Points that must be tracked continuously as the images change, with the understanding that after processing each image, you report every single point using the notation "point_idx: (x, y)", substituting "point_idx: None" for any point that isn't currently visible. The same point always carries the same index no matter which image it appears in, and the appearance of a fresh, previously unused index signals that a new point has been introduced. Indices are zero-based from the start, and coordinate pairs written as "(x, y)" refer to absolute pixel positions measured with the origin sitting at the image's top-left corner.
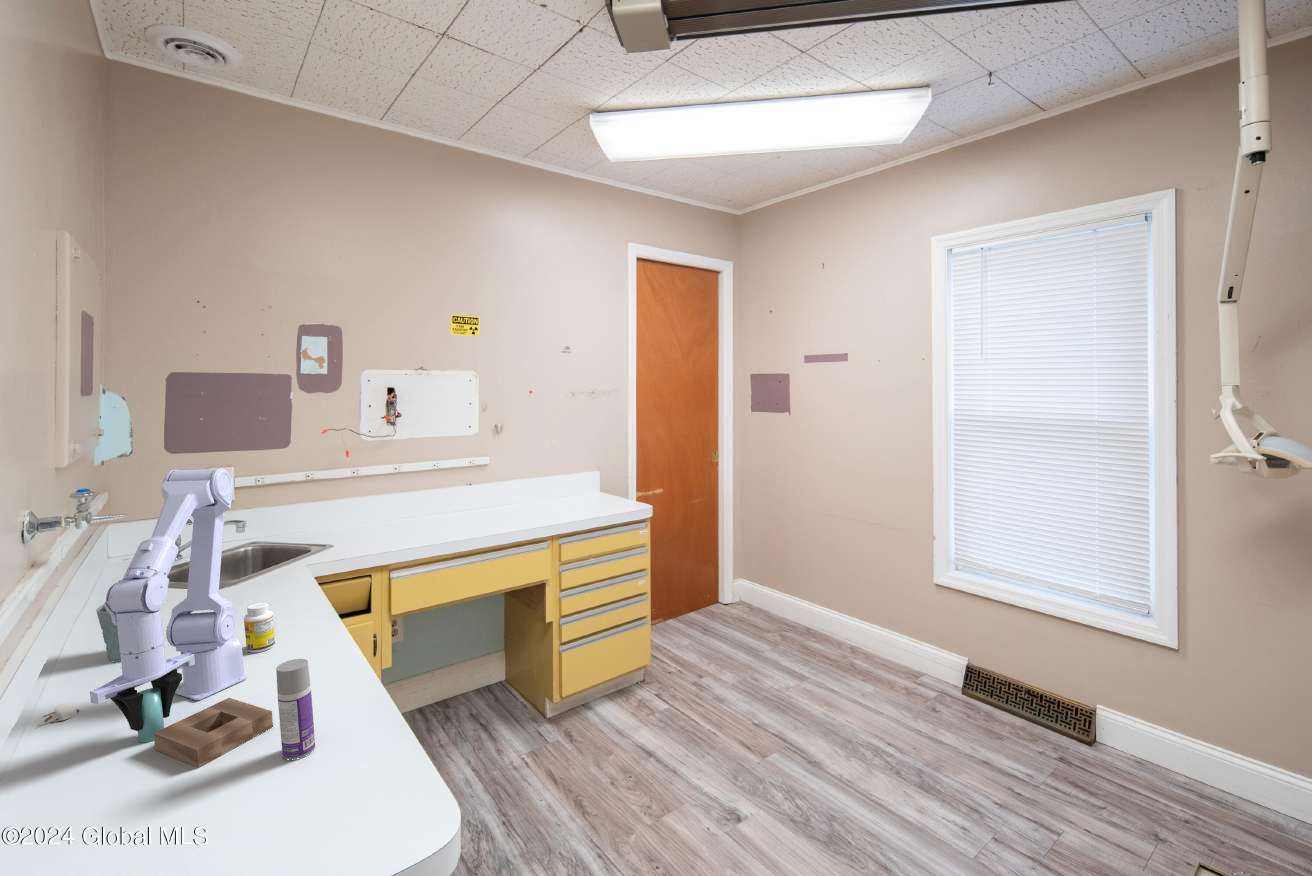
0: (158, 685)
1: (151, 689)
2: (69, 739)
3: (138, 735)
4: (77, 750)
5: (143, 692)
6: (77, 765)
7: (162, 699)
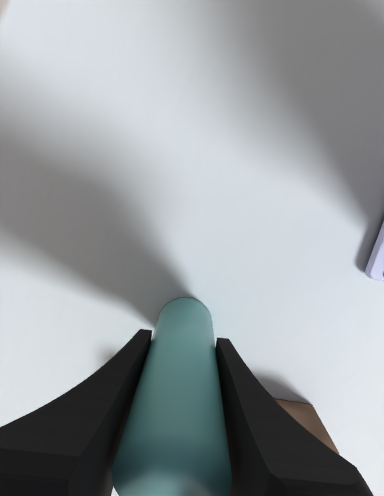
0: (240, 493)
1: (208, 466)
2: (108, 87)
3: (156, 324)
4: (82, 190)
5: (169, 459)
6: (45, 268)
7: (225, 421)
